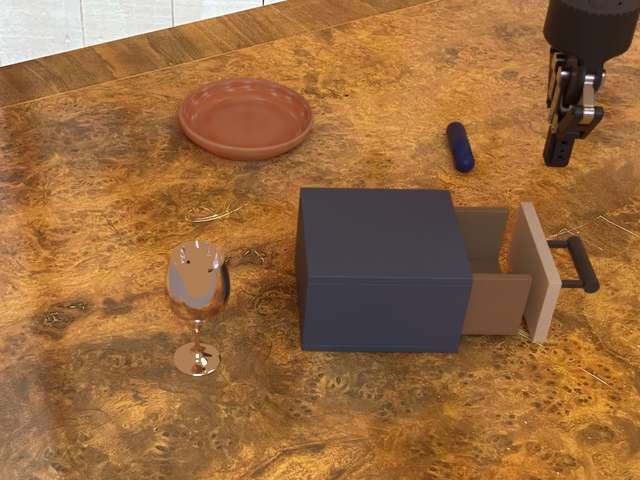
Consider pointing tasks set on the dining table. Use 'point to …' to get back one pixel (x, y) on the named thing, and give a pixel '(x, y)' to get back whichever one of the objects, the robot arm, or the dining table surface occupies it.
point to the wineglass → (197, 299)
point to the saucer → (246, 118)
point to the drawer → (516, 272)
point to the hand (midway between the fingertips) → (554, 162)
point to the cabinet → (380, 270)
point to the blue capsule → (460, 147)
